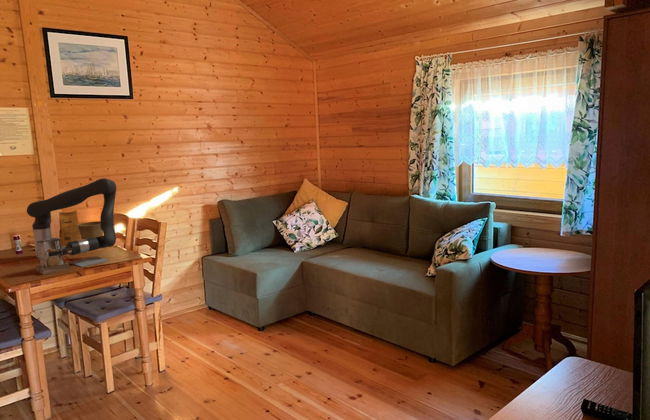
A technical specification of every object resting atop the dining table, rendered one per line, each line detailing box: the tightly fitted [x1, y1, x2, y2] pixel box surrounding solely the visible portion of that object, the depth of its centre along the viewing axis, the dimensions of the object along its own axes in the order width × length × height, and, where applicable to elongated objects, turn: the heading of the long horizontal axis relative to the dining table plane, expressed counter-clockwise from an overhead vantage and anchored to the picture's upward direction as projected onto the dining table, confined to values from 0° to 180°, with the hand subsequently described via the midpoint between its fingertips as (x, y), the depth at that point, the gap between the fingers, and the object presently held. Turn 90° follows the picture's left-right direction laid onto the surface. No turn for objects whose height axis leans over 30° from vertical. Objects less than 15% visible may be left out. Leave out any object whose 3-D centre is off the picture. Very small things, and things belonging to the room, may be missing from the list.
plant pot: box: [77, 220, 104, 239], centre depth 309 cm, size 15×15×16 cm
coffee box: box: [37, 237, 65, 268], centre depth 261 cm, size 9×6×16 cm
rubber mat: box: [68, 256, 109, 268], centre depth 276 cm, size 15×15×1 cm
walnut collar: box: [35, 260, 71, 275], centre depth 262 cm, size 10×13×3 cm
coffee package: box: [58, 209, 82, 246], centre depth 323 cm, size 10×12×22 cm
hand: (46, 253), depth 259 cm, fingers closed on coffee box, 7 cm apart
